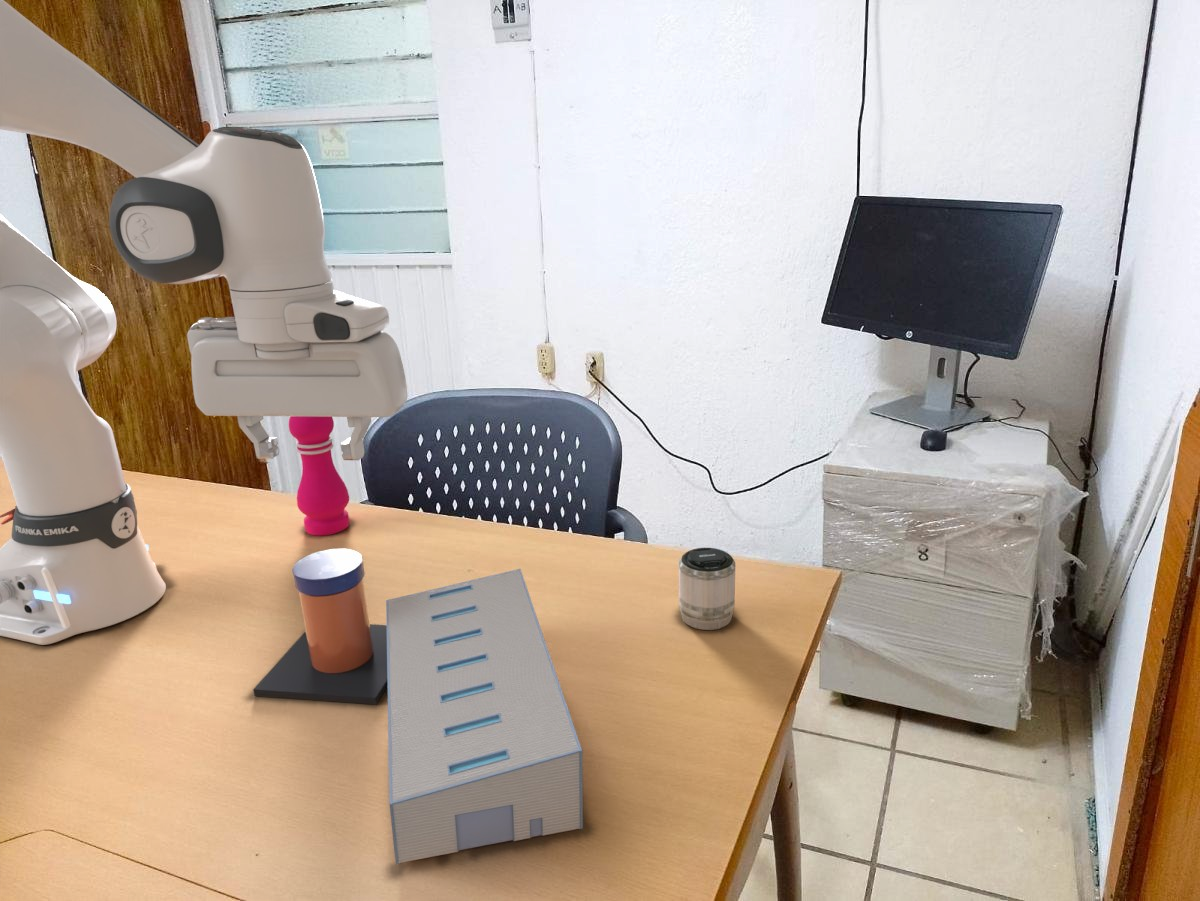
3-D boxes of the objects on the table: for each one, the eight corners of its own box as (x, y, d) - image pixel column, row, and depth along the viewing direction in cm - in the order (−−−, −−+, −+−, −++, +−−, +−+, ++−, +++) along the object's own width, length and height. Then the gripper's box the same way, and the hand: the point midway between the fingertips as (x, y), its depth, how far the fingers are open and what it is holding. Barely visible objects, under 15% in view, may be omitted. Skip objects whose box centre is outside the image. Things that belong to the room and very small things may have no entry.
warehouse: (390, 646, 89) (384, 584, 87) (522, 629, 93) (520, 568, 90) (395, 864, 62) (387, 783, 59) (582, 828, 65) (582, 750, 63)
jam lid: (281, 594, 82) (278, 578, 82) (314, 562, 89) (311, 547, 88) (346, 597, 81) (344, 581, 81) (375, 565, 88) (373, 549, 87)
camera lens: (742, 627, 92) (744, 564, 89) (688, 635, 91) (688, 571, 88) (723, 600, 98) (724, 539, 95) (672, 607, 97) (671, 546, 94)
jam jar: (299, 671, 86) (283, 580, 82) (328, 637, 92) (314, 551, 88) (358, 675, 85) (343, 583, 81) (383, 641, 91) (370, 554, 87)
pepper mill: (338, 538, 118) (317, 403, 111) (292, 536, 119) (268, 402, 112) (361, 518, 124) (343, 389, 118) (317, 515, 126) (297, 388, 119)
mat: (254, 696, 83) (252, 689, 83) (315, 627, 95) (314, 621, 95) (376, 704, 81) (375, 698, 81) (423, 633, 93) (422, 627, 93)
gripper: (162, 324, 75) (193, 467, 79) (376, 321, 71) (396, 471, 76) (204, 311, 80) (231, 445, 85) (404, 308, 77) (421, 448, 82)
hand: (310, 457), depth 80 cm, fingers open, 8 cm apart
